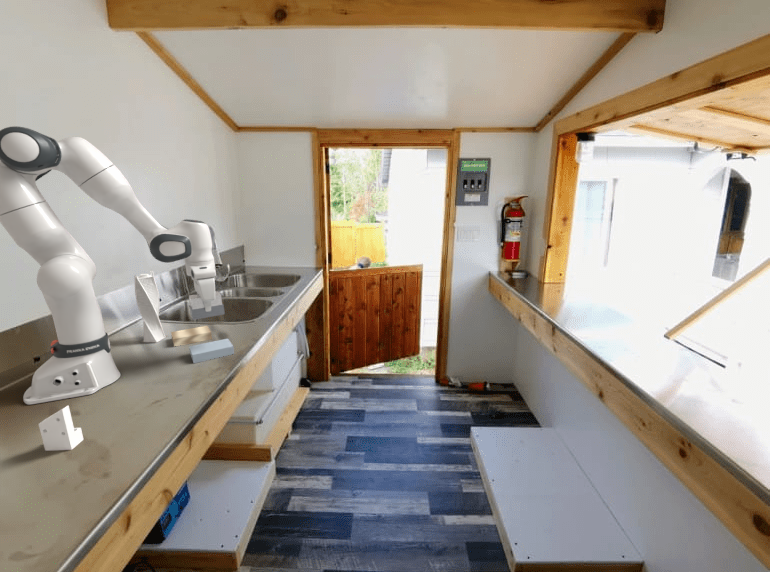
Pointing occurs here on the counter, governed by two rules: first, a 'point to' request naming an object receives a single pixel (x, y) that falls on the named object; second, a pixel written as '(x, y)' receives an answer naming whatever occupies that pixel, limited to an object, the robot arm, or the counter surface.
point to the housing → (199, 310)
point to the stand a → (191, 335)
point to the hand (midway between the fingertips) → (206, 308)
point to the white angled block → (60, 431)
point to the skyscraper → (149, 307)
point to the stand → (211, 350)
